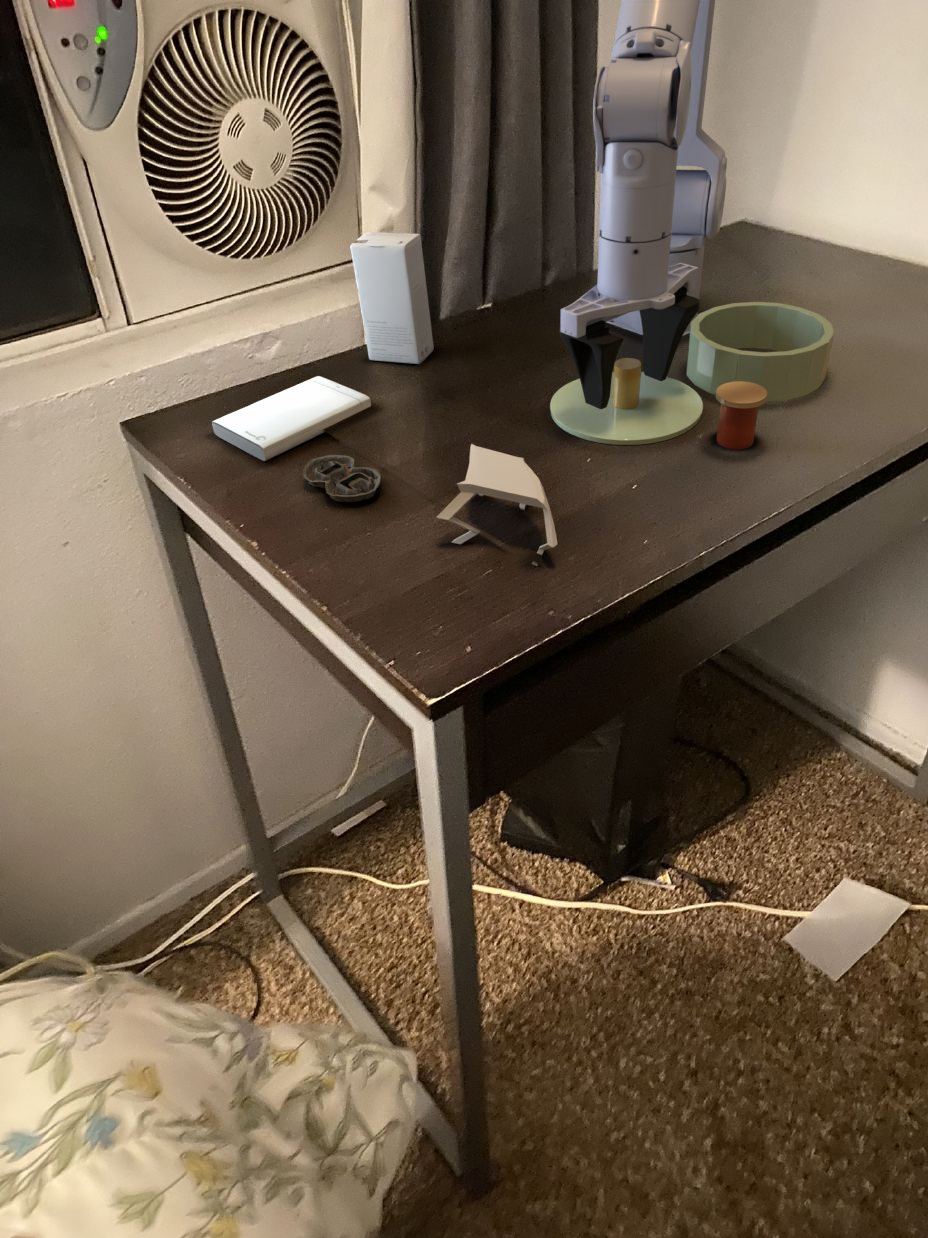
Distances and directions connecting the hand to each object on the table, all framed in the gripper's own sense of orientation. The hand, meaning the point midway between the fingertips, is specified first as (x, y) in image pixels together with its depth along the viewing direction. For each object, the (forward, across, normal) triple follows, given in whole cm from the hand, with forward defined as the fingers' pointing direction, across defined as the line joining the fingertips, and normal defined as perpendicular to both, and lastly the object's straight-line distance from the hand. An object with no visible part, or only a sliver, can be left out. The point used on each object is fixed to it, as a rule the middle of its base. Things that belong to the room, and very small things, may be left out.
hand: (626, 390), depth 81 cm
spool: (+2, +2, -10) cm, 11 cm away
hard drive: (+3, -22, +21) cm, 31 cm away
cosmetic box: (+2, -6, +26) cm, 27 cm away
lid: (+2, 0, 0) cm, 2 cm away
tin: (+2, +14, -4) cm, 15 cm away
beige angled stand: (+3, -20, -7) cm, 22 cm away
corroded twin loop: (+2, -25, +8) cm, 27 cm away
